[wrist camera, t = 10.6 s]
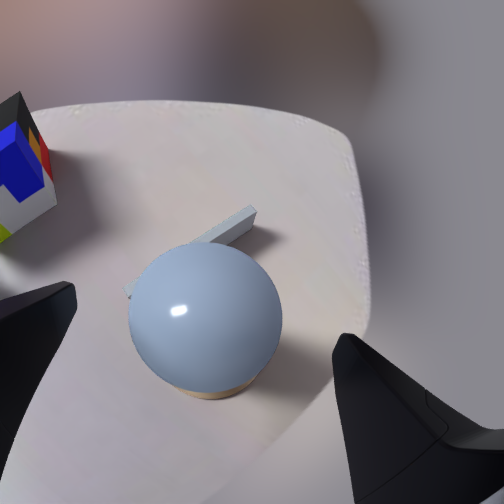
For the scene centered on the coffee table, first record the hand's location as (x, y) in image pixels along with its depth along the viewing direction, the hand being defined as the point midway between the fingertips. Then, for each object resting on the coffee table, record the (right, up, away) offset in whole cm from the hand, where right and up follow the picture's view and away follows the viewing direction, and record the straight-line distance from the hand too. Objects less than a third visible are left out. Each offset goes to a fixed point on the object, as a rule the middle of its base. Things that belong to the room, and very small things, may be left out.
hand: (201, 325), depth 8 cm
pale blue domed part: (-2, -5, +12) cm, 13 cm away
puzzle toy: (-25, +9, +15) cm, 31 cm away
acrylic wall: (-3, +1, +15) cm, 15 cm away
